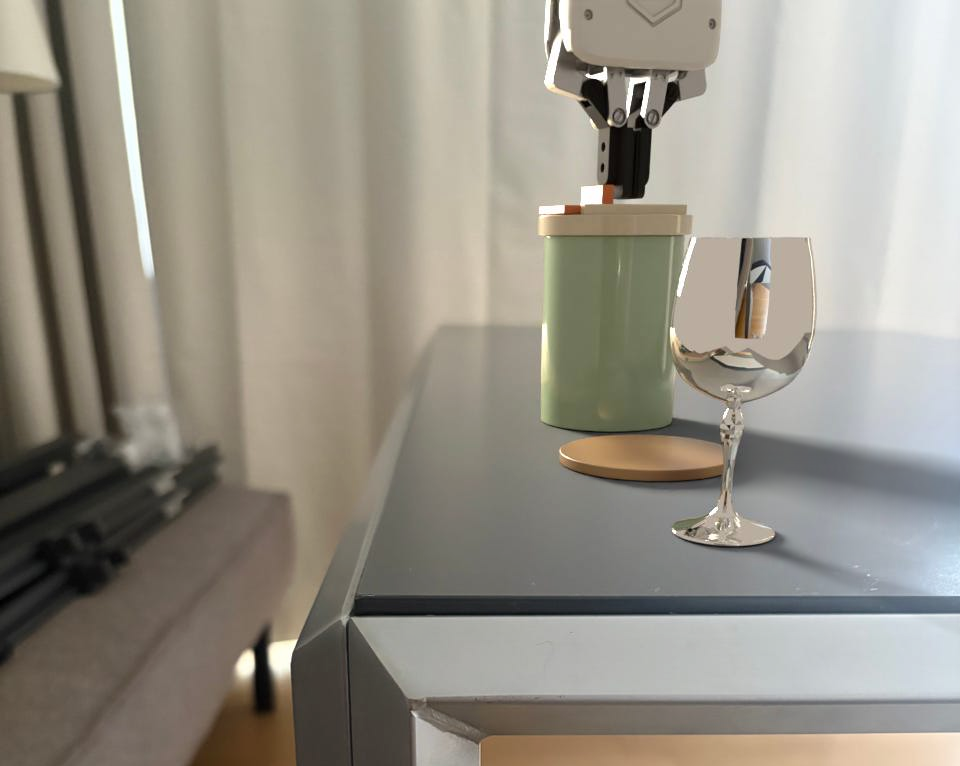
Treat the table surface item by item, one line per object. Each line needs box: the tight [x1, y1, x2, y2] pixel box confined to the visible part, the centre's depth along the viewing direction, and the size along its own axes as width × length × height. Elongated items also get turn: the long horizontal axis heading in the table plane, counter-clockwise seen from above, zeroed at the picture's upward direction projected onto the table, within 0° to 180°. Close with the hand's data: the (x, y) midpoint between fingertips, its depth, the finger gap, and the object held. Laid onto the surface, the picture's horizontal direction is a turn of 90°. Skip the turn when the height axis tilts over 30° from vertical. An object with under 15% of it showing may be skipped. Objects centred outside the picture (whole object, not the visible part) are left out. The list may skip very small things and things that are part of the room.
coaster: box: [558, 434, 737, 482], centre depth 57 cm, size 10×10×1 cm
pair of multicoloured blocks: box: [538, 184, 614, 216], centre depth 63 cm, size 4×4×2 cm
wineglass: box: [669, 236, 818, 547], centre depth 41 cm, size 6×6×12 cm
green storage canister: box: [537, 203, 694, 433], centre depth 67 cm, size 10×10×14 cm
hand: (621, 198), depth 64 cm, fingers closed
